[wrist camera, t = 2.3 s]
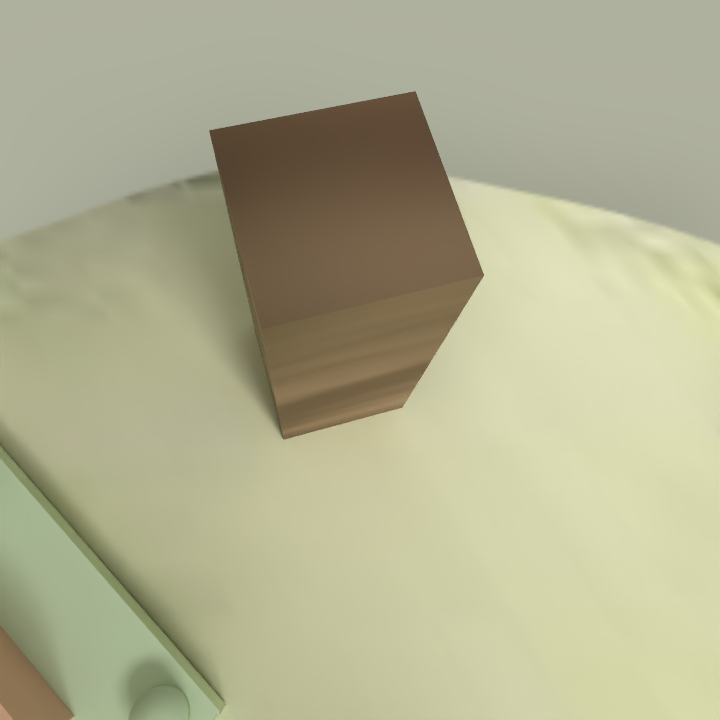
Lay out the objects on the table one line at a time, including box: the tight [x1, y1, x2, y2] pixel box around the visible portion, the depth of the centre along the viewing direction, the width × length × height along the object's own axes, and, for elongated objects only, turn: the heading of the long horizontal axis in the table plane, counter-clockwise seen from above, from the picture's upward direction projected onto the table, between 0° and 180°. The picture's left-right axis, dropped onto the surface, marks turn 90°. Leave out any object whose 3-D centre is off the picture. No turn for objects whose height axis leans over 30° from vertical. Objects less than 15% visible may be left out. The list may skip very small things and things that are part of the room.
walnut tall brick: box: [210, 92, 484, 439], centre depth 18 cm, size 4×4×12 cm
